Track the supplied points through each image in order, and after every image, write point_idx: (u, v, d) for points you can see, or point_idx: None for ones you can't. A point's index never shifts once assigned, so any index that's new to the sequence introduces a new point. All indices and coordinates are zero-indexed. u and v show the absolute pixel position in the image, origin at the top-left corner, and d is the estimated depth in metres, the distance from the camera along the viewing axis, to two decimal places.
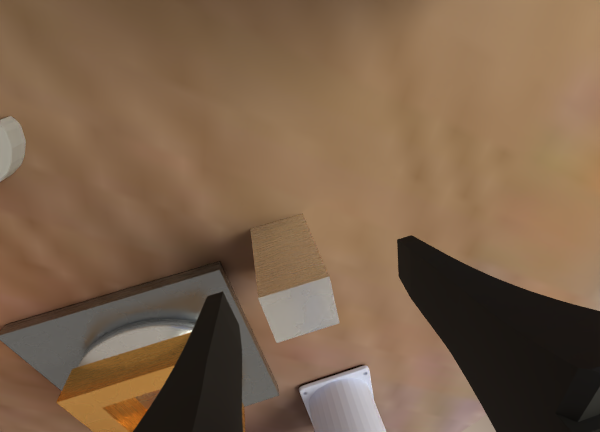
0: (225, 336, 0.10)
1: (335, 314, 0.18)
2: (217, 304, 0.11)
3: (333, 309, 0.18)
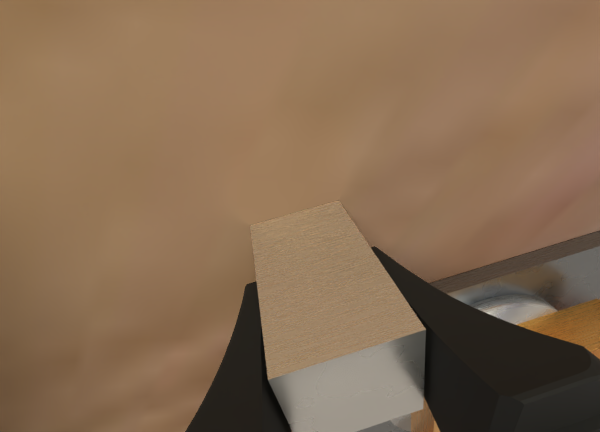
0: None
1: (392, 343, 0.07)
2: None
3: (373, 349, 0.07)
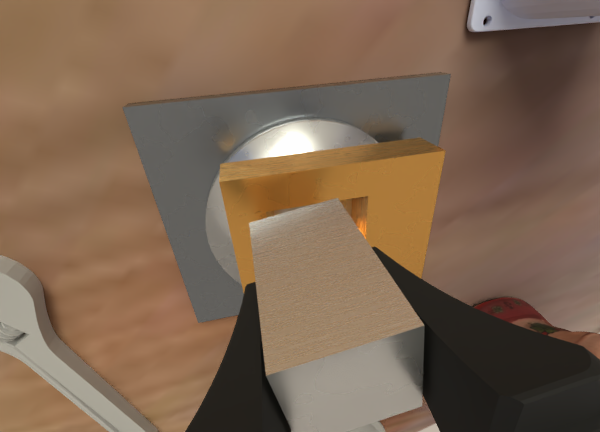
0: None
1: (391, 339, 0.07)
2: None
3: (371, 345, 0.07)
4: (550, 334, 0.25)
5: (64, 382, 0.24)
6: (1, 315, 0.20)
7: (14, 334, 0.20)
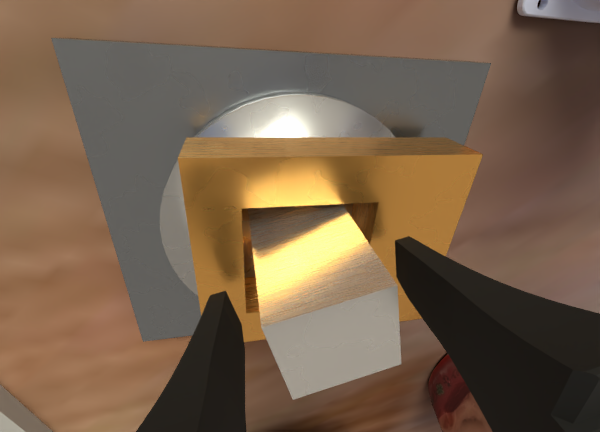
0: (228, 335, 0.10)
1: (368, 297, 0.09)
2: (220, 303, 0.11)
3: (352, 302, 0.09)
4: None
5: None
6: None
7: None
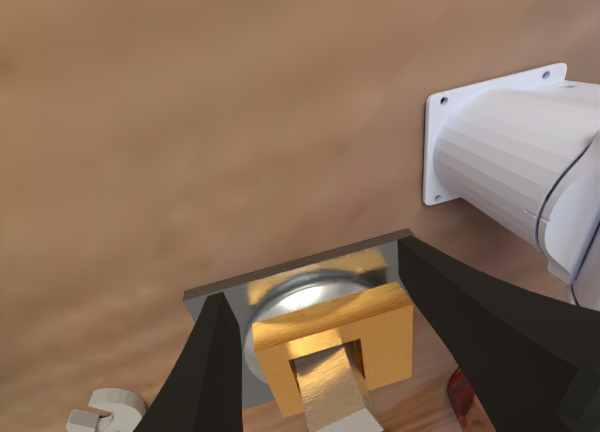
0: (225, 336, 0.10)
1: (353, 414, 0.19)
2: (217, 304, 0.11)
3: (346, 417, 0.19)
4: None
5: None
6: (120, 426, 0.28)
7: None
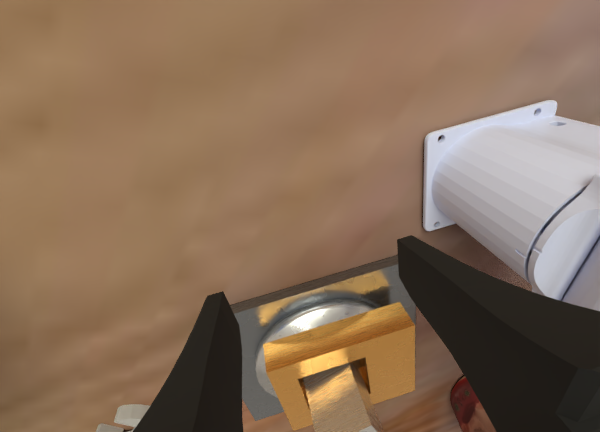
0: (225, 336, 0.10)
1: (360, 431, 0.20)
2: (217, 304, 0.11)
3: None
4: None
5: None
6: None
7: None
